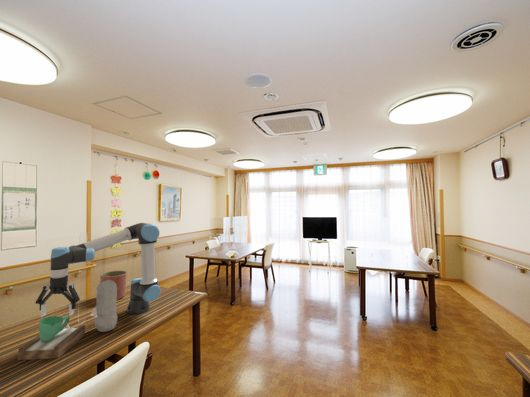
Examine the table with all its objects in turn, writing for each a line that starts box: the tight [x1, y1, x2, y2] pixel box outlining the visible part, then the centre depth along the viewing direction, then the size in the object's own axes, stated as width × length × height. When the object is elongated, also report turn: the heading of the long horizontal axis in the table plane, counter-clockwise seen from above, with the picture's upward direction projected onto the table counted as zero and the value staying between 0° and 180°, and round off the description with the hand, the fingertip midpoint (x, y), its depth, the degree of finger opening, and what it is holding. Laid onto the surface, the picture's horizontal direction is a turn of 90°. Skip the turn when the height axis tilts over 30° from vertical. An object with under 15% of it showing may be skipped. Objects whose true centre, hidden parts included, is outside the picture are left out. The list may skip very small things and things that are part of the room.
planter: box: [99, 269, 128, 301], centre depth 200 cm, size 19×19×20 cm
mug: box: [38, 315, 70, 342], centre depth 131 cm, size 15×10×10 cm
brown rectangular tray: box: [17, 325, 86, 361], centre depth 130 cm, size 18×22×6 cm
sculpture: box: [94, 280, 118, 333], centre depth 150 cm, size 15×12×30 cm
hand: (57, 315), depth 131 cm, fingers open, 13 cm apart
